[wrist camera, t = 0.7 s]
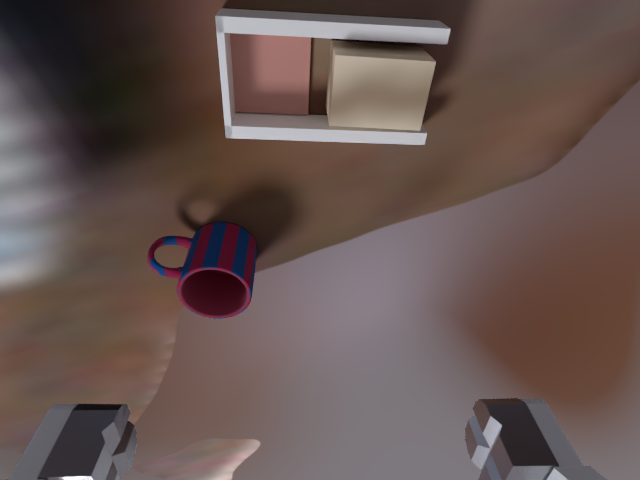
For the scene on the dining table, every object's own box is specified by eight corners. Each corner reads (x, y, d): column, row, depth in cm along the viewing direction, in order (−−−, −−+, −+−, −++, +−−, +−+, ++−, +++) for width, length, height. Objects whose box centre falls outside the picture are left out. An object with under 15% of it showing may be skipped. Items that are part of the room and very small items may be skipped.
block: (331, 39, 31) (335, 55, 28) (420, 46, 32) (436, 61, 29) (325, 104, 35) (329, 125, 31) (407, 109, 35) (420, 130, 32)
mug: (237, 280, 46) (229, 327, 41) (150, 240, 42) (129, 287, 37) (269, 240, 43) (265, 286, 38) (178, 194, 39) (159, 237, 34)
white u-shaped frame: (221, 8, 30) (215, 15, 27) (438, 20, 31) (450, 28, 28) (230, 123, 35) (225, 138, 33) (416, 130, 36) (424, 145, 34)
